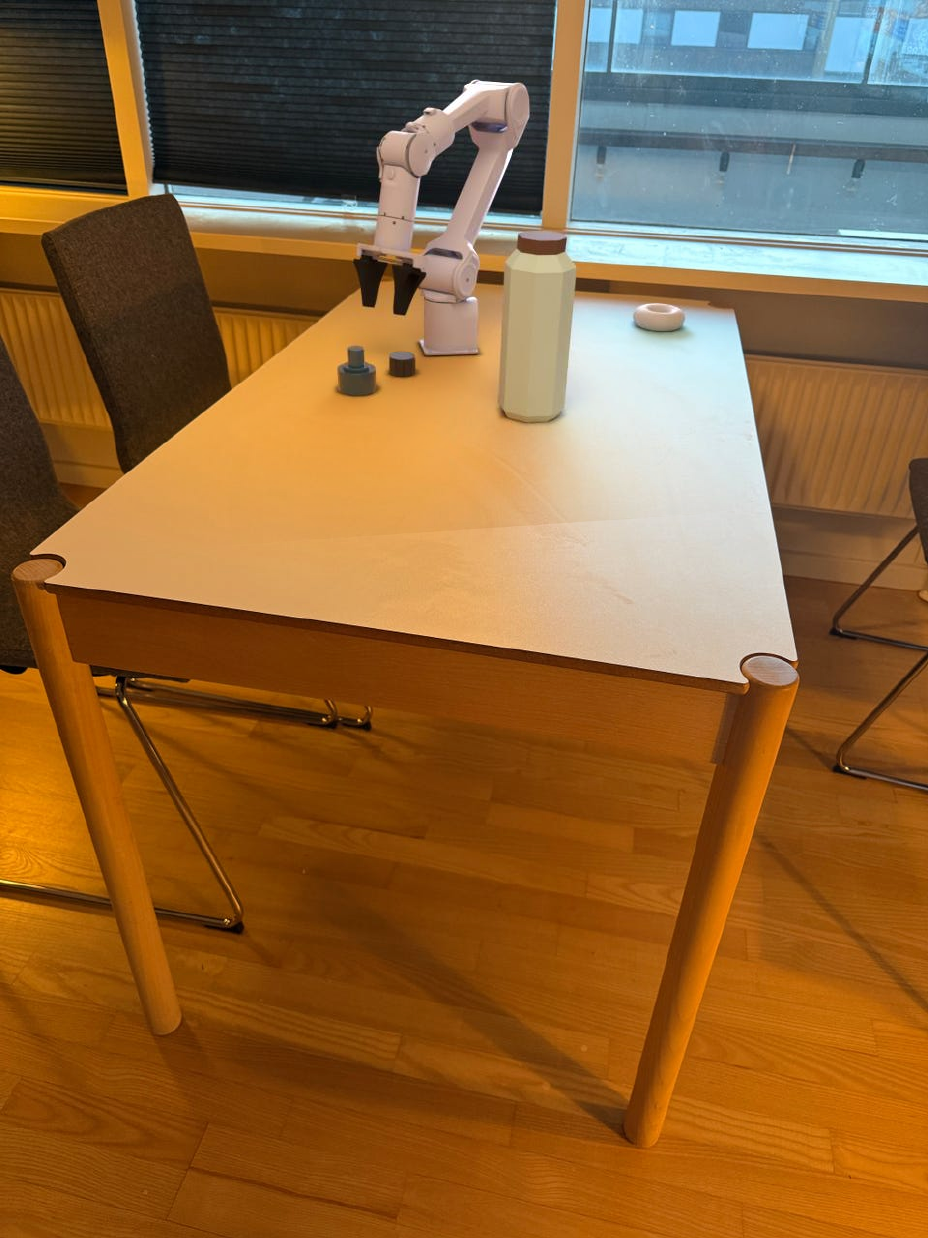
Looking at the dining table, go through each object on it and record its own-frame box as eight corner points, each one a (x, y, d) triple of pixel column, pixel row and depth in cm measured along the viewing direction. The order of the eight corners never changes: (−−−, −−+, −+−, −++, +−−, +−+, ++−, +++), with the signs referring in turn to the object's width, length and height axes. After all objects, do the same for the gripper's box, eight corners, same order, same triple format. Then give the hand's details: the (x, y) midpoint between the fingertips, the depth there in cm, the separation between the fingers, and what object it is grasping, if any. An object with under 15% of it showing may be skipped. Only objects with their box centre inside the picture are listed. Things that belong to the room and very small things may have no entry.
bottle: (374, 381, 143) (373, 341, 140) (378, 395, 139) (377, 353, 135) (337, 383, 143) (334, 342, 139) (339, 396, 138) (337, 354, 134)
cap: (413, 367, 150) (412, 350, 148) (416, 376, 146) (416, 359, 144) (388, 368, 149) (387, 351, 147) (391, 377, 145) (390, 359, 144)
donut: (663, 317, 180) (621, 321, 176) (666, 299, 178) (624, 303, 174) (693, 331, 172) (651, 335, 168) (697, 312, 170) (654, 316, 166)
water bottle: (559, 428, 129) (575, 245, 115) (492, 421, 131) (499, 240, 117) (566, 403, 137) (582, 230, 123) (503, 397, 139) (511, 225, 125)
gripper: (346, 209, 138) (335, 301, 143) (408, 219, 130) (395, 316, 135) (380, 217, 143) (369, 305, 148) (442, 227, 135) (428, 320, 140)
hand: (383, 310), depth 142 cm, fingers open, 7 cm apart
